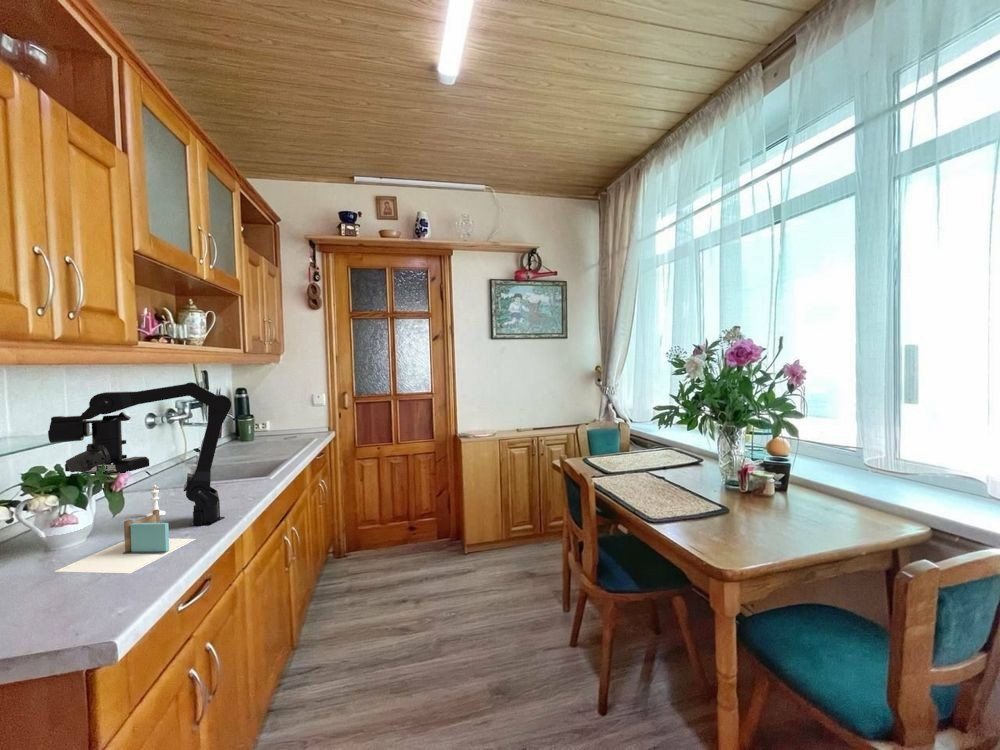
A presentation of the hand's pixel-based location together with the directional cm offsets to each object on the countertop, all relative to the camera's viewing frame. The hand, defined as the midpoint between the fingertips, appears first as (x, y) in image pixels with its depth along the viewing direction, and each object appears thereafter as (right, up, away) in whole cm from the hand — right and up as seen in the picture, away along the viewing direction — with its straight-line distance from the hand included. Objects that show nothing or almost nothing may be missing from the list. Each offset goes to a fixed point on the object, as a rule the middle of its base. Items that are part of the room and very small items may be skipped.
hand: (109, 495), depth 107 cm
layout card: (+13, -13, -7) cm, 20 cm away
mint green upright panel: (+17, -12, -6) cm, 22 cm away
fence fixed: (+12, -13, -3) cm, 17 cm away
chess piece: (-5, -13, +20) cm, 24 cm away
